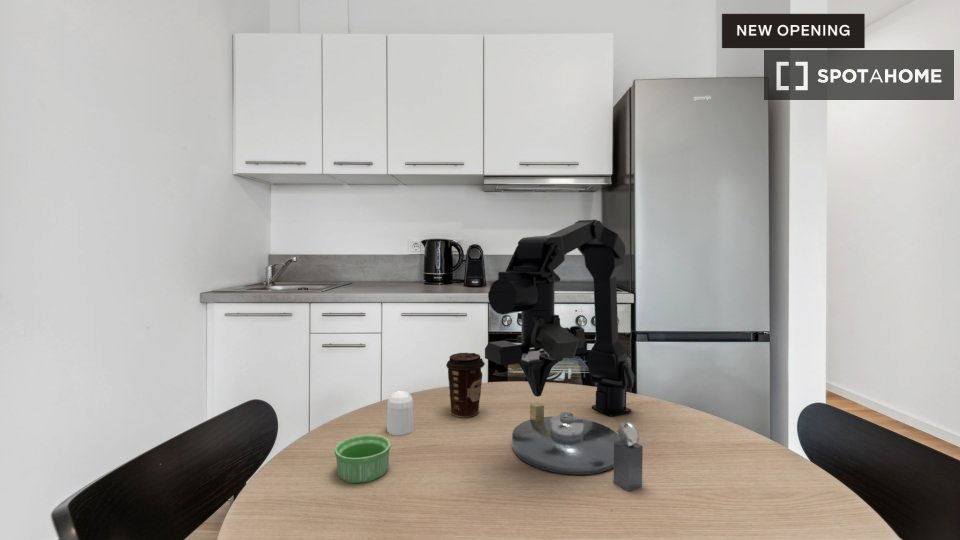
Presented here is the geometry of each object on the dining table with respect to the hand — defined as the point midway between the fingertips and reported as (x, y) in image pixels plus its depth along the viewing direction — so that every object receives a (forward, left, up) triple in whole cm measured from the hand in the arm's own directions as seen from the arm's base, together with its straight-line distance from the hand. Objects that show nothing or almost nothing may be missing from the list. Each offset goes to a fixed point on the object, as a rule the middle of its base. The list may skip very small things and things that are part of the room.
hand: (537, 395), depth 78 cm
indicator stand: (-7, +15, -11) cm, 19 cm away
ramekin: (+28, -10, -11) cm, 32 cm away
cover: (-6, 0, -9) cm, 11 cm away
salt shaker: (+17, -23, -11) cm, 31 cm away
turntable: (-7, 0, -11) cm, 13 cm away
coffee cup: (+1, -25, -11) cm, 27 cm away
